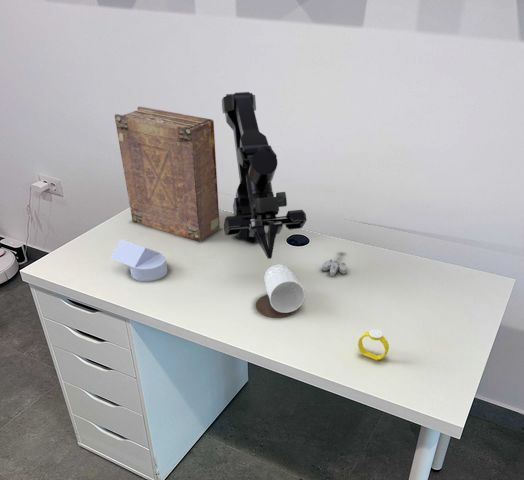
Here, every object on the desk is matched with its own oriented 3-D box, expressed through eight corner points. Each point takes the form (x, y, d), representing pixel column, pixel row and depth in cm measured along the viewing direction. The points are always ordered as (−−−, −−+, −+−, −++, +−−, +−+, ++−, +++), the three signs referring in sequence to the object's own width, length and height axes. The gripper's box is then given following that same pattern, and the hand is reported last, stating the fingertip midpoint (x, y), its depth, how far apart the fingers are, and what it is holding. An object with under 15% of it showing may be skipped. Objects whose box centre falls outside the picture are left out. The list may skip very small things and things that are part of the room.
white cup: (281, 297, 129) (290, 318, 121) (254, 282, 125) (262, 303, 117) (300, 271, 126) (312, 291, 118) (274, 255, 122) (284, 275, 114)
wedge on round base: (112, 270, 136) (149, 285, 130) (107, 246, 132) (145, 260, 126) (137, 255, 142) (174, 269, 136) (133, 232, 137) (171, 245, 132)
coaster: (270, 290, 128) (270, 289, 128) (305, 302, 123) (305, 301, 123) (247, 309, 122) (247, 308, 121) (283, 322, 117) (283, 321, 117)
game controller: (323, 276, 132) (323, 267, 131) (320, 254, 141) (320, 245, 140) (346, 276, 132) (347, 267, 131) (341, 254, 141) (342, 245, 140)
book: (131, 221, 158) (113, 114, 139) (152, 210, 164) (137, 105, 145) (200, 242, 147) (190, 128, 129) (220, 229, 153) (213, 119, 135)
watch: (354, 355, 108) (357, 331, 104) (360, 348, 110) (363, 324, 106) (382, 365, 106) (386, 341, 102) (388, 357, 107) (392, 333, 104)
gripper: (222, 182, 116) (232, 252, 115) (306, 175, 119) (316, 243, 117) (220, 202, 127) (228, 266, 126) (296, 195, 130) (306, 258, 128)
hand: (269, 258), depth 124 cm, fingers closed
